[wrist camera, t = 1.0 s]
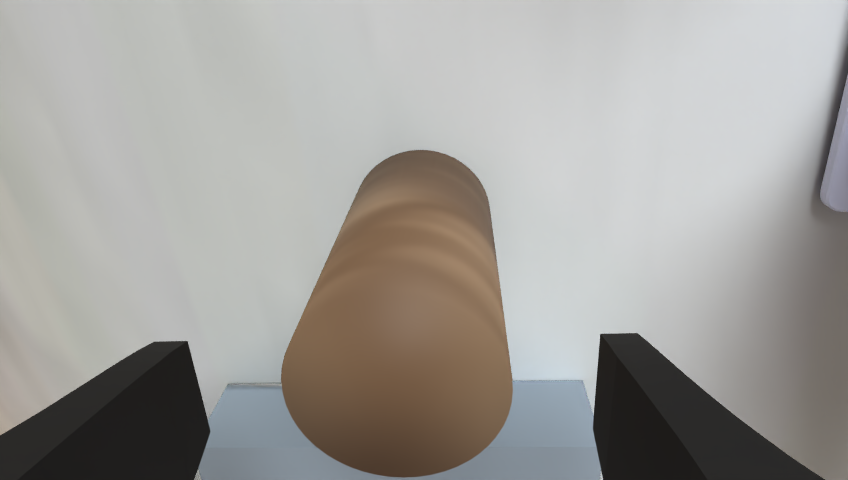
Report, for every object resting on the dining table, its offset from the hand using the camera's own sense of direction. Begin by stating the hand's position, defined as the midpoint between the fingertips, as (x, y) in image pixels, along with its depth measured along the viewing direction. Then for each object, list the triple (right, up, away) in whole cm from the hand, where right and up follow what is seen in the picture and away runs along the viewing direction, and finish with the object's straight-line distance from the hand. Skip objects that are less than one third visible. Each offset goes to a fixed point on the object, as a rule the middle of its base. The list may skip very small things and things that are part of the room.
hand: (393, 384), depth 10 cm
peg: (0, +3, +7) cm, 8 cm away
